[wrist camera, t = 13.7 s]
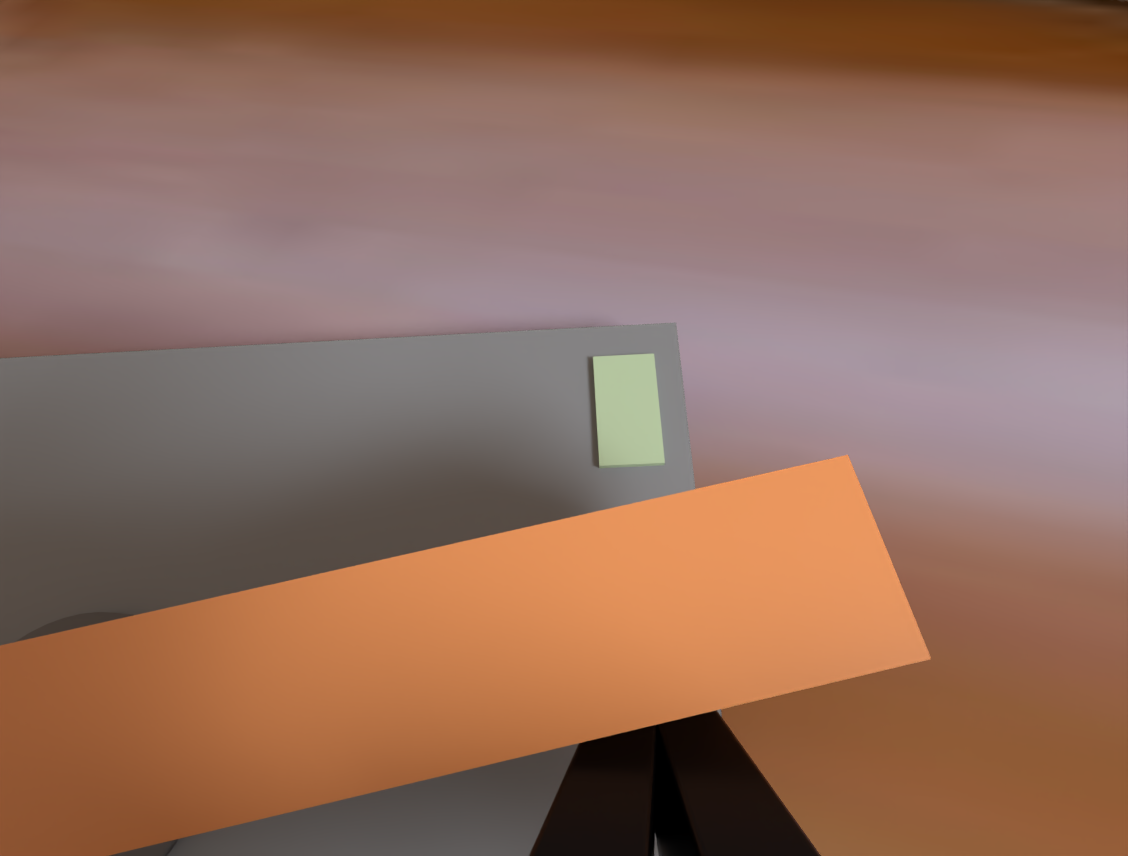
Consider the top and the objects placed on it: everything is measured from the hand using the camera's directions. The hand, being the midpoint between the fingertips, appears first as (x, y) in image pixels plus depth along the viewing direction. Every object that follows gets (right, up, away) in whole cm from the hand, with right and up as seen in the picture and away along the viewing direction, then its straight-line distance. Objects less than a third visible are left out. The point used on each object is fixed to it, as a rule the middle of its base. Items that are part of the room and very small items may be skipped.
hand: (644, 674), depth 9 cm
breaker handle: (-12, -4, +5) cm, 13 cm away
